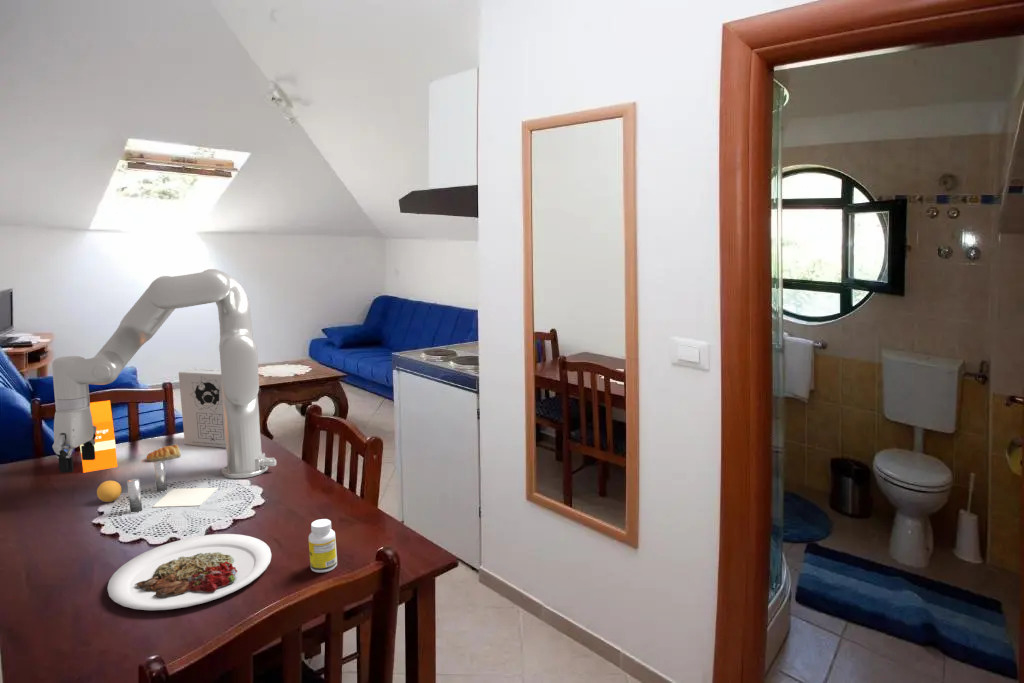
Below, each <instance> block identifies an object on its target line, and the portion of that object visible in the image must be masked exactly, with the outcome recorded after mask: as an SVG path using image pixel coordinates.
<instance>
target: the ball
mask: <svg viewBox="0 0 1024 683" xmlns="http://www.w3.org/2000/svg"><path fill="white" fill-rule="evenodd" d="M121 495H122V486H121V484H120V483H119V482H117V481H115V480H105V481H103V482H101V483H100V484H99V486H98V487H97V490H96V496H97V498H98V499H99V500H100V501H102V502H105V503H111V502H115V501H116V500H118V498H119V497H120V496H121Z"/></svg>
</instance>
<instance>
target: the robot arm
mask: <svg viewBox="0 0 1024 683" xmlns="http://www.w3.org/2000/svg"><path fill="white" fill-rule="evenodd" d="M249 300H250V299H249V297H248V295H247V292H246V290H245V289H244V287H243V286H242V285H241V283H240V282H239V281H238V280H237V279H236V278H234V277H233V276H231V275H230V274H228V273H226V272H225V271H222V270H219V269H216V268H210V269H206V270H204V271H201V272H196V273H189V274H184V275H182V274H181V275H175V276H170V275H162V276H159V277H157V278H156V279H154V280H153V281H151V283H150V284H149V286H148V287H147V289H146V290H145V291H144V292H143V293H142V295H140V297H139V298H138V300H136V302H135V303H134V304H133V306H132V307H131V308H130V309H129V310H128V312H127V313H126V314H125V315H124V316H123V318H122V319H121V321H120V322H119V325H118V327H117V328H116V330H115V331H114V333H113V334H112V335H111V336H110V338H108V340H107V341H106V342H105V344H104V345H103V346H102V347H101V349H100V350H99V351H98V352H97V353H96V354H95V355H94V356H93V357H91V358H85V357H83V356H80V355H70V356H61V357H60V356H59V357H57V358H54V359H53V360H52V363H51V370H52V381H53V392H54V403H55V413H54V419H53V444H52V449H53V451H54V454H55V456H56V458H57V459H58V469H59V473H60V474H61V473H66V474H67V473H69V474H70V473H73V472H74V461H73V458H74V457H73V456H71V455H72V453H73V450H74V449H76V448H78V447H80V445H82V444H83V445H84V446H81V449H80V452H81V451H82V457H81V461H82V460H94V459H95V448H94V446H93V445H95V441H94V440H95V438H96V429H97V427H96V426H93V421H92V415H91V410H90V403H91V402H90V401H91V400H90V390H89V389H90V388H89V385H99V386H100V385H101V386H102V385H103V386H104V385H108V384H112V383H113V382H114V381H116V380H117V378H118V377H119V375H120V373H121V372H122V371H123V369H124V368H126V367H127V366H126V365H128V363H129V362H130V361H131V360H132V358H133V357H134V356H135V355H136V353H137V352H138V351H139V350H140V349H141V347H142V346H144V344H147V342H148V341H150V340H151V339H152V338H153V336H155V334H156V333H157V332H158V331H159V329H160V328H161V327H162V325H164V323H165V322H166V321H167V319H169V317H170V316H171V315H172V313H173V312H174V311H175V310H176V309H183V308H189V307H195V306H202V305H207V304H214V303H215V305H216V306H217V312H218V313H217V314H218V321H219V345H218V346H219V347H218V350H219V359H220V360H219V361H220V362H219V363H220V369H221V391H222V401H223V413H224V426H225V439H226V448H225V450H226V462H227V465H226V466H224V467H223V468H222V470H221V473H222V476H223V477H225V478H229V479H246V478H252V477H256V476H259V475H262V474H263V473H266V472H267V471H268V469H269V467H275V466H277V459H275V457H267V456H266V454H265V453H266V452H263V451H262V440H261V425H260V407H259V406H260V405H259V396H258V394H259V391H260V378H259V375H260V374H259V360H258V358H259V357H258V348H257V345H256V341H255V338H254V336H253V335H254V334H253V325H252V324H253V323H252V314H251V313H252V312H251V306H250V305H251V304H250V301H249ZM65 450H67V451H65Z"/></svg>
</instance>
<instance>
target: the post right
mask: <svg viewBox="0 0 1024 683" xmlns="http://www.w3.org/2000/svg"><path fill="white" fill-rule="evenodd" d="M165 461H166V460H165ZM165 461H154V462H153V468H154V470H153V471H154V478H155V480H154V481H155V488H156V490H155V491H156V492H157V493H162V492H161V491H163V492H166V491H167V490H168V484H167V473H166V464H165V463H166V462H165ZM165 490H166V491H165Z"/></svg>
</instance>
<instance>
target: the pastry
mask: <svg viewBox="0 0 1024 683" xmlns="http://www.w3.org/2000/svg"><path fill="white" fill-rule="evenodd" d="M181 456H182V454H181V450H180V447H179V445H178V444H173V445H166V446H162V447H161V448H160V447H159V448H158V449H156V450H154V451H152V452H149V453H148V454H147V455H146V461H149V462H152V463H154V462H156V461H170V460H174V459H179V458H181Z"/></svg>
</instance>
